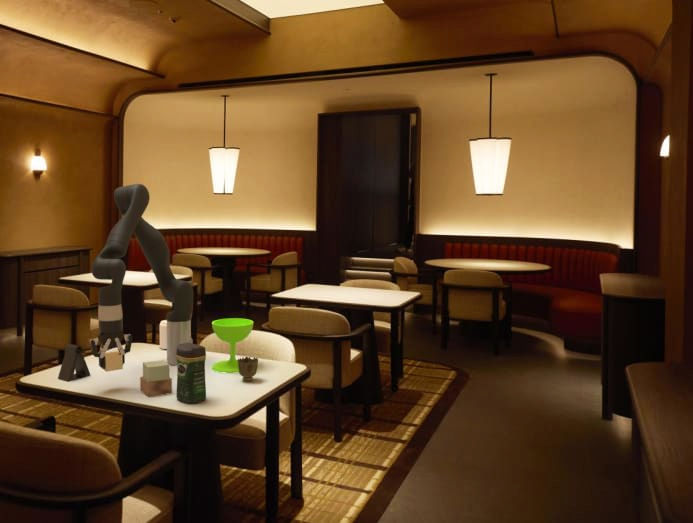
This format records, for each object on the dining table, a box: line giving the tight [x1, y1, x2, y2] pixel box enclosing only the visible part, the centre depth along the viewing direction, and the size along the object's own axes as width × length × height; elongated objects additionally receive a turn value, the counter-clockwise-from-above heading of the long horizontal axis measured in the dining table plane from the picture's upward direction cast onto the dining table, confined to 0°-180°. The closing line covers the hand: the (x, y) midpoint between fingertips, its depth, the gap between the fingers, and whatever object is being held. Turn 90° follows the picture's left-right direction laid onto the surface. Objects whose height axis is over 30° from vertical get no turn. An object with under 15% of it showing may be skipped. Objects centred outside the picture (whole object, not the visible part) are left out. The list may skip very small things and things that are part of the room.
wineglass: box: [211, 317, 254, 374], centre depth 231 cm, size 16×16×18 cm
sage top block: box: [142, 359, 170, 382], centre depth 199 cm, size 7×7×5 cm
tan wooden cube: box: [103, 350, 124, 373], centre depth 200 cm, size 5×5×5 cm
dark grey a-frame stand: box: [57, 343, 91, 383], centre depth 214 cm, size 9×6×12 cm, turn 148°
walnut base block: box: [139, 376, 173, 398], centre depth 200 cm, size 8×8×5 cm
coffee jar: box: [175, 342, 207, 404], centre depth 192 cm, size 10×8×19 cm
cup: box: [237, 356, 259, 382], centre depth 215 cm, size 8×7×8 cm
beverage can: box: [159, 319, 167, 350], centre depth 260 cm, size 8×8×12 cm
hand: (112, 366), depth 200 cm, fingers closed on tan wooden cube, 5 cm apart
